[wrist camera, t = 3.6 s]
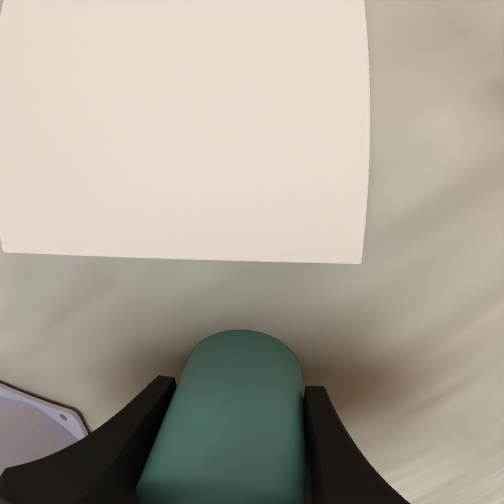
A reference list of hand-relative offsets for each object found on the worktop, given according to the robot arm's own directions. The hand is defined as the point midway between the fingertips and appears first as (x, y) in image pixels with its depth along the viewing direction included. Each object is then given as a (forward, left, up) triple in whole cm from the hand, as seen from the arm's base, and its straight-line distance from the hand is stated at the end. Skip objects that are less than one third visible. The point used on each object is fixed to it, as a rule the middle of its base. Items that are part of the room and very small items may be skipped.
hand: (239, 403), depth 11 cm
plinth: (-2, +11, -1) cm, 11 cm away
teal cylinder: (0, 0, -1) cm, 1 cm away
